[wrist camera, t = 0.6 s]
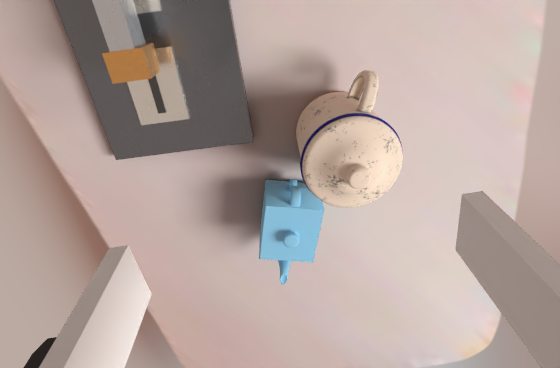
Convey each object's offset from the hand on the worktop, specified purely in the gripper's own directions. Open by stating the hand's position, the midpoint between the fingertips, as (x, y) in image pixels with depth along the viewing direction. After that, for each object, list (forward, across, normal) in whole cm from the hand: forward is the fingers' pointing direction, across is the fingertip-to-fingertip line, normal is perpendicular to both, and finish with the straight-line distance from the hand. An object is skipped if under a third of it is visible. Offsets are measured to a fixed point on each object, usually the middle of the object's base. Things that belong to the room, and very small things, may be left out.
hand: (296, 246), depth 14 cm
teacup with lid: (+26, +6, -4) cm, 27 cm away
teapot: (+26, -1, -15) cm, 30 cm away
